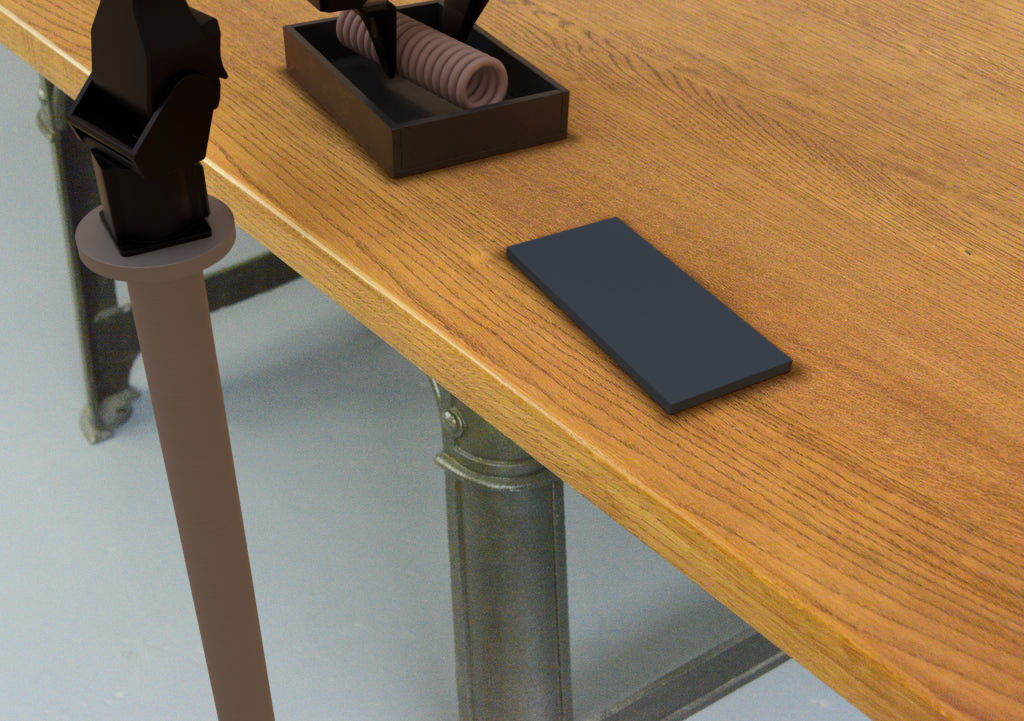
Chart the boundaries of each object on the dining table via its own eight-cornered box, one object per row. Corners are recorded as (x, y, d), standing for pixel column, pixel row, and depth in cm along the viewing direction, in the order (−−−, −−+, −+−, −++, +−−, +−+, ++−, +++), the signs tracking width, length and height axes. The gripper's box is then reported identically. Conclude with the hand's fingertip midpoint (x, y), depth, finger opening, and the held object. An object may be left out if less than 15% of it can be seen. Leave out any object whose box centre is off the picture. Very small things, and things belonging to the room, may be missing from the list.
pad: (669, 415, 66) (671, 404, 65) (505, 256, 78) (506, 246, 78) (791, 370, 69) (793, 359, 69) (615, 225, 82) (616, 216, 82)
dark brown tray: (393, 179, 87) (391, 129, 84) (286, 70, 102) (282, 25, 99) (567, 138, 93) (570, 90, 90) (441, 41, 108) (441, -2, 106)
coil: (328, 4, 97) (465, 72, 87) (372, -13, 100) (511, 51, 89) (336, 55, 100) (469, 127, 90) (379, 37, 103) (513, 105, 92)
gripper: (474, -163, 96) (472, 20, 105) (259, -140, 88) (278, 55, 97) (543, -130, 88) (535, 65, 97) (314, -102, 80) (329, 106, 90)
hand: (419, 70), depth 96 cm, fingers closed on coil, 5 cm apart
